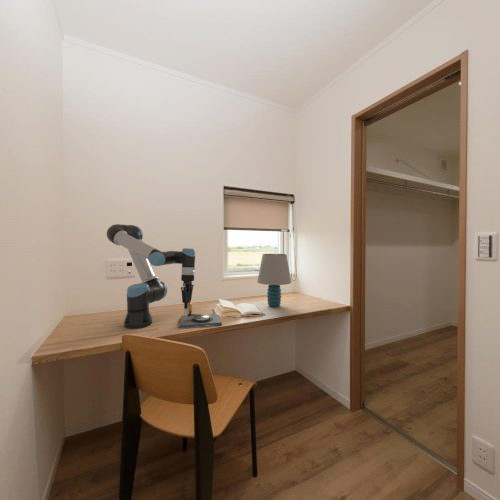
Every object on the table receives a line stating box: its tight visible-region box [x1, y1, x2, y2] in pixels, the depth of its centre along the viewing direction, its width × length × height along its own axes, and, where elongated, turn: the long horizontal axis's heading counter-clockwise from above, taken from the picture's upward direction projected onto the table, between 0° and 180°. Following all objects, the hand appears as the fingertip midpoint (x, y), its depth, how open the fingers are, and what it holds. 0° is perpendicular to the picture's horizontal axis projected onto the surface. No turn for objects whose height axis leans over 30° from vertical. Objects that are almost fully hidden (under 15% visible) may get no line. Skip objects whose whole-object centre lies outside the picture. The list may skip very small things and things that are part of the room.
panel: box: [178, 312, 223, 329], centre depth 153 cm, size 24×19×2 cm
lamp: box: [257, 253, 292, 308], centre depth 188 cm, size 25×25×39 cm
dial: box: [186, 301, 211, 321], centre depth 152 cm, size 14×10×10 cm
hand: (186, 313), depth 149 cm, fingers closed
